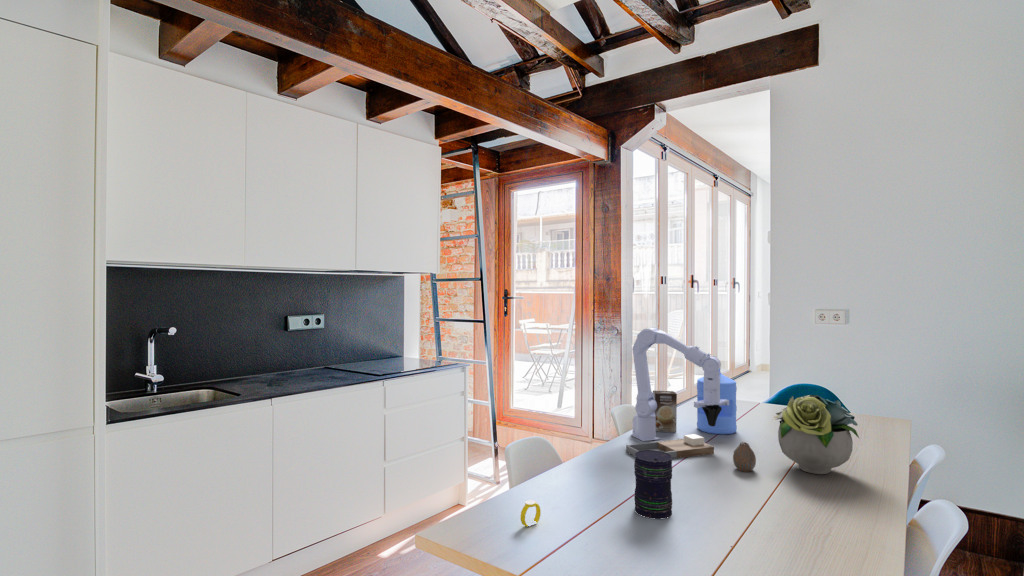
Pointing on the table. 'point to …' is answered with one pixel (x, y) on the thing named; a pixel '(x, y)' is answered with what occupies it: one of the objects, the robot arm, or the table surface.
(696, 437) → the white square block
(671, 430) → the coffee box
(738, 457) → the brown oval piece
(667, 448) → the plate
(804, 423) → the flower arrangement
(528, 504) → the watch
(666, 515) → the storage jar
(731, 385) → the water jug
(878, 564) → the table surface
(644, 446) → the box
